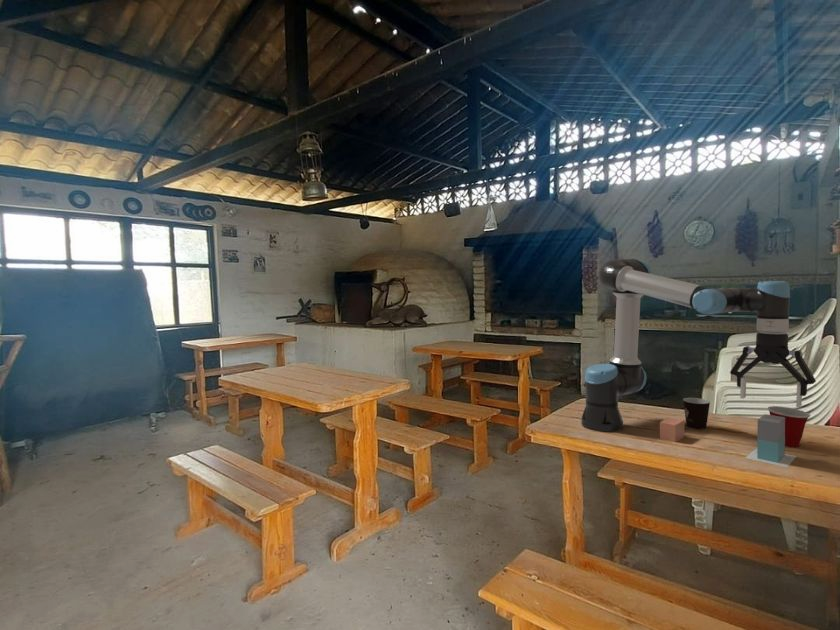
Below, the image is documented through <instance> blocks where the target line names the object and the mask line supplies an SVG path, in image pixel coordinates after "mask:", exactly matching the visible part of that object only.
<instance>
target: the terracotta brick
mask: <svg viewBox="0 0 840 630" xmlns="http://www.w3.org/2000/svg"><path fill="white" fill-rule="evenodd" d="M684 437H685V420H684V419H679V418H673V417H668V418H665V419H664V420H663V419H662V420H661V421H660V422H659V439H660V440H665V441H668V442H669V441H670V442H674V443H677V442H678V441H680V440H681V439H683V438H684Z"/></svg>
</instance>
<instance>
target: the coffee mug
mask: <svg viewBox="0 0 840 630" xmlns="http://www.w3.org/2000/svg"><path fill="white" fill-rule="evenodd" d="M682 401H683V410H684V416H685V426H686V427H687V428H689V429H693V430H706V429H707V426H708V425H707V424H708V417H709V412H710V411H709V410H710V404H711V401H710V400H709V399H705V398H698V397H697V398H696V397H686V398H683V399H682Z"/></svg>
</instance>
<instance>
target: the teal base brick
mask: <svg viewBox="0 0 840 630" xmlns="http://www.w3.org/2000/svg"><path fill="white" fill-rule="evenodd" d="M756 441H757V442H756V443H757V445H756V446H757V447H756V448H757V458H758V459H762V460H767V461H771V462H776V463H779V461H780V460H781V459H782V458H783V457H784V456H785V454H786V452H785V451H786V446H785V437H784V438H783V439H782V440H781V441H780V442H779V443H775V442H770V441H765V440H760V439H757V440H756Z"/></svg>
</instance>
